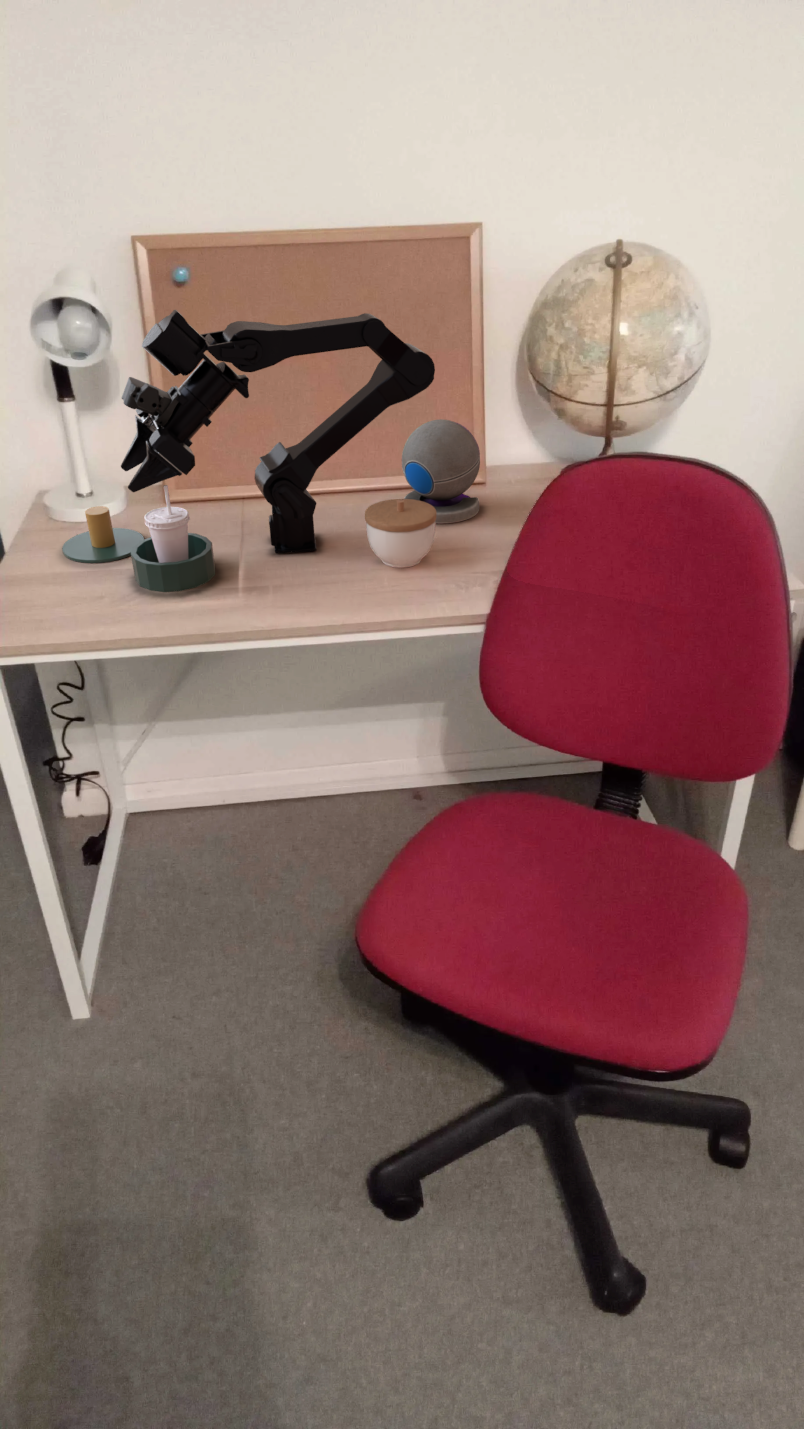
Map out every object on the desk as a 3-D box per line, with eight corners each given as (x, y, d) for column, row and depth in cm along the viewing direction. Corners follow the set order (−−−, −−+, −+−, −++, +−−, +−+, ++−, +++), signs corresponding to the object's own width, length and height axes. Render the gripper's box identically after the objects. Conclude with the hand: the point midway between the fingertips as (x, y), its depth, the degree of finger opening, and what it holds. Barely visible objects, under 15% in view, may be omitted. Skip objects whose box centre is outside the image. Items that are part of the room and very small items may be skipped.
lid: (148, 531, 163) (142, 493, 159) (141, 563, 152) (134, 523, 148) (70, 536, 161) (61, 498, 158) (57, 569, 151) (48, 528, 147)
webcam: (493, 507, 169) (496, 419, 161) (446, 530, 161) (446, 439, 153) (434, 490, 176) (435, 405, 168) (386, 511, 168) (384, 423, 160)
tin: (216, 559, 153) (213, 529, 150) (214, 592, 143) (210, 561, 141) (140, 564, 152) (135, 534, 149) (132, 597, 142) (127, 567, 140)
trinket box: (447, 551, 154) (447, 493, 149) (419, 579, 146) (418, 519, 141) (385, 540, 158) (383, 484, 153) (354, 567, 150) (351, 508, 144)
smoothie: (188, 586, 144) (174, 495, 137) (147, 583, 145) (131, 492, 138) (204, 568, 150) (191, 478, 142) (164, 565, 151) (149, 476, 143)
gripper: (145, 343, 143) (75, 423, 145) (163, 374, 128) (85, 463, 131) (203, 396, 149) (135, 472, 152) (227, 431, 135) (152, 515, 137)
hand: (126, 479), depth 143 cm, fingers open, 9 cm apart
